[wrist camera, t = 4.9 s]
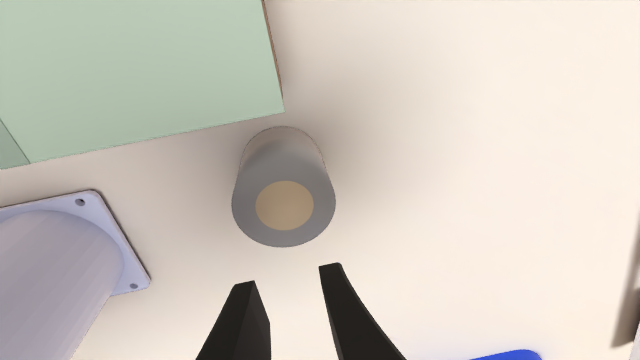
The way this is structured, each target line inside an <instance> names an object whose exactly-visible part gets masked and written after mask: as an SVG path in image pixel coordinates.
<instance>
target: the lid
mask: <svg viewBox="0 0 640 360" xmlns="http://www.w3.org/2000/svg"><path fill="white" fill-rule="evenodd" d="M284 112H285V109H284V104H283V100H282V95H281V91H280V86H279V81H278V77H277V72H276V68H275V63H274V58H273V54H272V49H271V45H270V40H269V35H268V31H267V26H266V22H265V17H264V12H263V8H262V3H261V0H0V169H1V170H3V169H8V168H13V167H17V166H22V165H27V164H31V163H36V162H41V161H46V160H50V159H55V158H60V157H65V156H70V155H75V154H80V153H85V152H90V151H95V150H100V149H105V148H110V147H115V146H120V145H125V144H130V143H135V142H140V141H145V140H150V139H155V138H160V137H165V136H170V135H175V134H180V133H185V132H189V131H194V130H199V129H204V128H209V127H214V126H219V125H224V124H229V123H234V122H239V121H244V120H249V119H254V118H259V117H264V116H269V115H274V114H279V113H284Z"/></svg>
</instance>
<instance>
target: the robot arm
mask: <svg viewBox="0 0 640 360" xmlns="http://www.w3.org/2000/svg"><path fill="white" fill-rule="evenodd" d="M79 199H82V200H84V201H85V203H83V202H81V201H80V200H79ZM319 273H320V279H321V285H322V290H323V294H324V299H325V303H326V308H327V312H328V317H329V322H330V326H331V331H332V335H333V340H334V344H335V348H336V351H337V355H338V358H339V360H406V359H405V357H404V356H403V355H402V354H401V353H400V351H399V350H398V349H397V348H396V347H395V345H394V344H393V343H392V342H391V340H390V339H389V338H388V337H387V335H386V334H385V333H384V332H383V330H382V329H381V328H380V326H379V325H378V324H377V322H376V321H375V320H374V318H373V317H372V315H371V314H370V313H369V311H368V310H367V308H366V307H365V306H364V304H363V303H362V301H361V300H360V298H359V297H358V295H357V293H356V292H355V290H354V288H353V287H352V285H351V283H350V282H349V280H348V278H347V276H346V274H345V272H344V270H343V268H342V265H341V264H340V263H338V262H337V263H332V264H327V265H323V266H319ZM150 282H151V281H150V278H149V277H148V275H147V273H146V272H145V270H144V268H143V267H142V265H141V263H140V262H139V260H138V258H137V257H136V255H135V253H134V252H133V250H132V248H131V247H130V245H129V243H128V242H127V240H126V238H125V236H124V235H123V233H122V231H121V230H120V228H119V226H118V225H117V223H116V221H115V220H114V218H113V216H112V215H111V213H110V211H109V210H108V208H107V206H106V205H105V203H104V201H103V200H102V198H101V196H100V195H99V194H98V193H97V192H95V191H91V190H89V191H83V192H78V193H73V194H68V195H63V196H58V197H53V198H48V199H43V200H38V201H33V202H28V203H23V204H18V205H13V206H8V207H3V208H0V360H70V359H71V357H72V355H73V354H74V352H75V351H76V349H77V347H78V346H79V344H80V342H81V341H82V339H83V338H84V336H85V334H86V333H87V331H88V330H89V328H90V326H91V325H92V323H93V322H94V320H95V318H96V317H97V315H98V313H99V312H100V310H101V309H102V307H103V305H104V304H105V302H106V301H107V299H108V297H110V296H114V295H119V294H124V293H128V292H133V291H137V290H142V289H146V288H147V287H148V286H149V284H150ZM133 283H135V284H133ZM136 284H137V285H136ZM196 360H271V337H270V322H269V319H268V316H267V314H266V311H265V308H264V306H263V303H262V300H261V297H260V295H259V292H258V289H257V287H256V284H255V281H254V280H253V281H249V282H244V283H239V284H235V285H234V286H233V288H232V290H231V292H230V294H229V296H228V298H227V300H226V302H225V304H224V306H223V308H222V310H221V313H220V315H219V316H218V318H217V320H216V322H215V324H214V326H213V328H212V330H211V332H210V334H209V336H208V338H207V339H206V341H205V343H204V345H203V347H202V349H201V351H200V352H199V354H198V356H197V358H196Z"/></svg>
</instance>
